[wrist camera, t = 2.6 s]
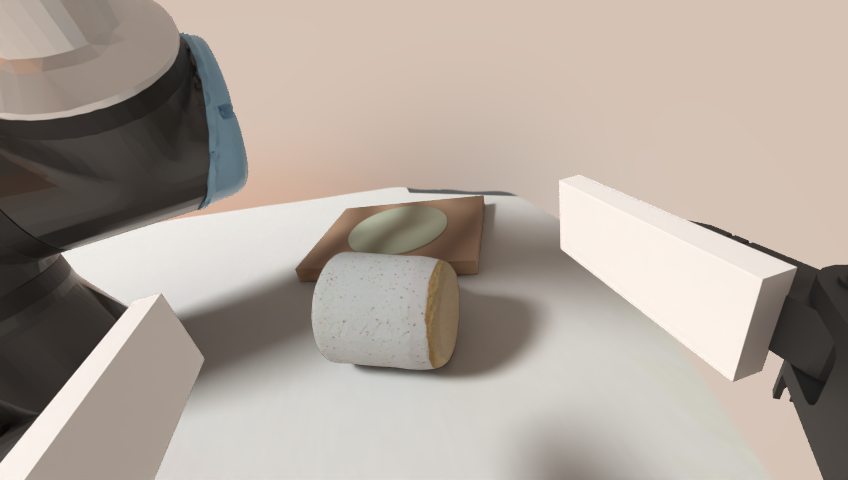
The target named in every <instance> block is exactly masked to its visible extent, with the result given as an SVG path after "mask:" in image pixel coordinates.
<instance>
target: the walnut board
mask: <svg viewBox="0 0 848 480" xmlns="http://www.w3.org/2000/svg"><path fill="white" fill-rule="evenodd" d="M484 209H485V205H484V196H474V197H463V198H453V199H442V200H432V201H421V202H411V203H400V204H390V205H380V206H369V207H359V208H348V209H346V210H345V211H344V212H343V213H342V215H341V216H340V217H339V218H338V219H337V221H336V222H335V223H334V224H333V225H332V226H331V228H330V229H329V230H328V231H327V232H326V234H325V235H324V236H323V237H322V238H321V239H320V241H319V242H318V243H317V244H316V245H315V247H314V248H313V249H312V250H311V251H310V252H309V254H308V255H307V256H306V257H305V258H304V260H303V261H302V262H301V263H300V264H299V265H298V267H297V268H296V269H295V270H296V273H297V275H298V277H299V280H300V282H301V281H318V279H319V277H320V274H321V272H322V270H323V268H324V267H325V265H326V264H327V262H328V261H329V260H330V259H332V257H334V256H335V255H337V254H339V253H342V252H361V253H374V254H387V255H402V256H424V257H431V258H435V259H439V260H443V261H446V262H447V263H449V264H450V265H451V267H452V268H453V269H454V271H455V273H456V275H471V274H478V265H479V255H480V246H481V237H482V227H483V218H484Z"/></svg>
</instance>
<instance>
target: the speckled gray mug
mask: <svg viewBox="0 0 848 480" xmlns="http://www.w3.org/2000/svg"><path fill="white" fill-rule="evenodd" d="M311 319H312V328H313V333H314V338H315V341H316V345H317V347H318V349H319V350H320V352H321V353H322V355H323V356H324V357H325V358H327V359H328V360H330V361H332V362H336V363H352V364H359V365H370V366H384V367H397V368H404V369H415V370H426V369H435V368H439V367H442V366H443V365H444V364H445V363H446V362H447V361H448V360H449V359H450V358H451V356H452V353H453V351H454V347H455V343H456V339H457V332H458V324H459V287H458V281H457V276H456V273H455V271H454V269H453V268H452V267H451V265H450V264H449V263H447V262H446V261H443V260H439V259H435V258H431V257H424V256H402V255H387V254H374V253H361V252H342V253H339V254H337V255H335V256H334V257H332V259H330V260H329V261H328V262H327V264H326V265H325V267H324V268H323V270H322V272H321V274H320V277H319V279H318V281H317V284H316V287H315V290H314V294H313V302H312V315H311Z"/></svg>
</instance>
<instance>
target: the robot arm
mask: <svg viewBox="0 0 848 480" xmlns="http://www.w3.org/2000/svg"><path fill="white" fill-rule="evenodd" d="M247 178H248V163H247V157H246V151H245V147H244V142H243V138H242V134H241V131H240V127H239V124H238V121H237V118H236V116H235V114H234V112H233V106H232V103H231V100H230V96H229V92H228V89H227V86H226V83H225V81H224V78H223V75H222V73H221V70H220V68H219V66H218V63H217V61H216V59H215V57H214V55H213V53H212V51H211V49H210V48H209V46H208V44H207V43H206V42H205V41H204V40H203V39H202V38H201V37H198V36H195V35H188V34H184V33H180V34H179V31H178V29H177V27H176V25H175V23H174V21H173V19H172V17H171V16H170V15H169V14H168V13H167V11H166V10H165V9H164V8H163V7H161V6H160V5H159V4H158V3H156V2H154V1H153V0H0V480H154V479H155V476H156V474H157V472H158V469H159V467H160V465H161V462H162V460H163V457H164V455H165V453H166V450H167V448H168V445H169V443H170V441H171V438H172V436H173V433H174V431H175V429H176V426H177V424H178V422H179V419H180V417H181V414H182V412H183V410H184V407H185V405H186V402H187V400H188V398H189V395H190V393H191V390H192V388H193V386H194V383H195V381H196V378H197V376H198V374H199V371H200V369H201V367H202V364H203V362H204V359H205V358H204V357H203V355H202V354H201V352H200V351H199V349H198V348H197V346H196V345H195V343H194V342H193V340H192V339H191V337H190V336H189V334H188V333H187V331H186V330H185V328H184V327H183V325H182V324H181V322H180V321H179V319H178V317H177V316H176V314H175V313H174V311H173V310H172V308H171V307H170V305H169V304H168V302H167V301H166V299H165V298H164V296H163V295H162V293H159V294H156V295H152V296H149V297H145V298H142V299H138V300H135V301H134V302H133V303H132V304H131V305H130V306H129V307H128V306H126V305H124V304H123V303H121V302H120V301H118V300H116V299H115V298H113V297H112V296H110V295H108V294H107V293H105V292H104V291H102V290H100V289H99V288H97V287H96V286H94V285H92V284H91V283H89V282H88V281H86V280H85V279H83V278H81V277H80V276H79V275H78V274H77V273H76V272H75V271H74V270H73V269H72V267H71V266H70V265H69V264H68V262H67V261H66V260H65V258H64V257H63V256H62V255H61V253H62V252H65V251H68V250H71V249H74V248H77V247H80V246H83V245H87V244H90V243H93V242H96V241H99V240H103V239H106V238H109V237H112V236H115V235H119V234H122V233H125V232H128V231H131V230H135V229H138V228H141V227H144V226H147V225H151V224H154V223H157V222H160V221H163V220H167V219H169V218H173V217H176V216H179V215H182V214H186V213H189V212H192V211H195V210H201V209H204V208H206V207H207V206H208V205H209V204H211V203H214V202H216V201H219V200H222V199H224V198H227V197H229V196H232V195H234V194H236V193H238V192H239V191H240V190H241V189H242V188H243V187H244V185H245V184H246V181H247ZM559 191H560V192H559V196H560V246H561V249H562V250H563V251H564V252H565V253H567V254H568V255H569V256H571V257H572V258H573V259H574V260H576V261H577V262H578V263H580V264H581V265H582V266H583V267H585V268H586V269H587V270H589V271H590V272H591V273H592V274H594V275H595V276H596V277H598V278H599V279H600V280H601V281H603V282H604V283H605V284H607V285H608V286H609V287H611V288H612V289H613V290H614V291H616V292H617V293H618V294H620V295H621V296H622V297H623V298H625V299H626V300H627V301H629V302H630V303H631V304H632V305H634V306H635V307H636V308H638V309H639V310H640V311H641V312H643V313H644V314H645V315H647V316H648V317H649V318H650V319H652V320H653V321H654V322H656V323H657V324H658V325H660V326H661V327H662V328H663V329H665V330H666V331H667V332H669V333H670V334H671V335H672V336H674V337H675V338H676V339H678V340H679V341H680V342H682V343H683V344H684V345H685V346H687V347H688V348H690V350H692V351H693V352H694V353H696V354H697V355H698V356H700V357H701V358H702V359H703V360H705V361H706V362H707V363H709V364H710V365H711V366H713V367H714V368H715V369H716V370H718V371H719V372H720V373H721V374H723V375H724V376H725V377H727V378H728V379H729V380H731V381H732V382H734V381H737V380H739V379H742V378H744V377H747V376H749V375H752V374H755V373H757V372H760V371H762V369H763V366H764V363H765V360H766V357H767V354H768V351H769V350H770V351H772V352H773V353H775V354H777V355H778V356H780V357H781V358H783V359H784V362H783V364H782V367H781V369H780V372H779V375H778V377H777V380H776V383H775V385H774V388H773V398H775V399H780V397H781V395H782V392H783V390H784V389H785V388H786V387H787V388H788V391H789V393H790V396H791V397H790V400H789V401H790V402H793V403H794V406H795V408H796V411H797V413H798V416H799V418H800V421H801V424H802V426H803V429H804V431H805V434H806V436H807V439H808V442H809V444H810V447H811V449H812V452H813V454H814V457H815V459H816V462H817V464H818V466H819V470H820V472H821V475H822V477H823V480H848V265H833V266H829V267H825V268H822V269H821V270H819V269H816V268H814V267H811V266H809V265H807V264H804V263H802V262H799V261H797V260H794V259H792V258H789V257H787V256H785V255H782V254H780V253H777V252H775V251H773V250H770V249H768V248H765V247H763V246H760V245H758V244H755V243H749V241H748V240H746V239H743V238H741V237H738V236H736V235H735V236H732V234H731V233H729V232H726V231H724V230H721V229H719V228H717V227H714V226H712V225H707V224H702V223H698V222H693V221H688V220H685V219H683V218H680V217H678V216H675V215H673V214H671V213H669V212H666V211H663V210H661V209H659V208H657V207H654V206H652V205H649V204H647V203H645V202H643V201H640V200H638V199H635V198H633V197H631V196H628V195H626V194H624V193H621V192H619V191H617V190H614V189H612V188H610V187H607V186H605V185H602V184H600V183H598V182H595V181H593V180H591V179H588V178H586V177H584V176H581V175H576V176H573V177H569V178H565V179H562V180H559Z"/></svg>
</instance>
